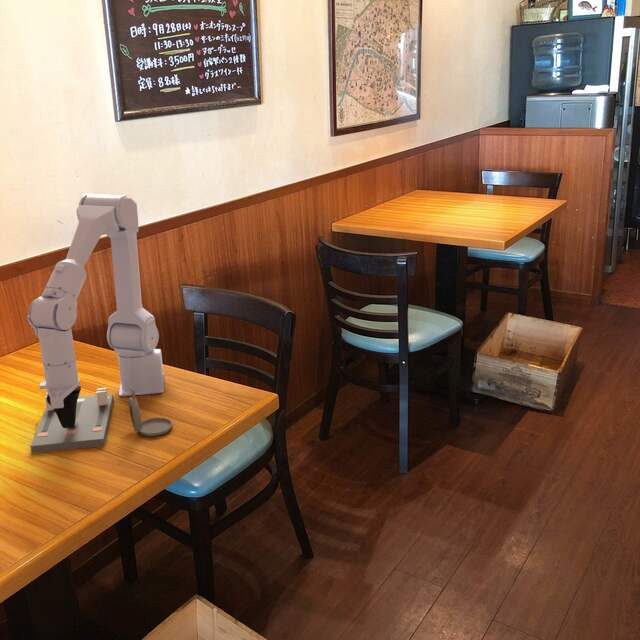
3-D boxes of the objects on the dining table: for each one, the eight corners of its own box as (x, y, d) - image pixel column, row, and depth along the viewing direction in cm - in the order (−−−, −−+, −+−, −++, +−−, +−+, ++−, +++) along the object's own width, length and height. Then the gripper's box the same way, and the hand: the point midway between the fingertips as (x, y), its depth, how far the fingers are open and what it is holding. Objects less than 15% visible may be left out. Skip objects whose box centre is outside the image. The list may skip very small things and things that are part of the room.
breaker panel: (113, 400, 148) (112, 393, 148) (104, 445, 130) (103, 438, 129) (50, 405, 146) (49, 399, 145) (31, 453, 127) (30, 445, 127)
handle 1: (57, 405, 142) (55, 391, 141) (56, 409, 140) (54, 395, 139) (48, 406, 142) (46, 392, 141) (47, 410, 140) (44, 396, 139)
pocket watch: (179, 426, 136) (175, 380, 133) (149, 445, 130) (144, 397, 126) (149, 417, 140) (144, 372, 137) (118, 434, 134) (112, 388, 130)
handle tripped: (77, 420, 135) (75, 406, 134) (76, 425, 134) (74, 410, 132) (68, 421, 135) (66, 407, 134) (66, 426, 133) (64, 411, 132)
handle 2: (108, 400, 144) (106, 386, 143) (107, 404, 142) (105, 390, 141) (99, 401, 143) (97, 387, 142) (98, 405, 142) (96, 391, 141)
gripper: (43, 347, 132) (53, 411, 137) (28, 377, 119) (39, 447, 123) (81, 344, 133) (90, 407, 138) (70, 374, 120) (80, 442, 125)
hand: (68, 426), depth 131 cm, fingers closed
